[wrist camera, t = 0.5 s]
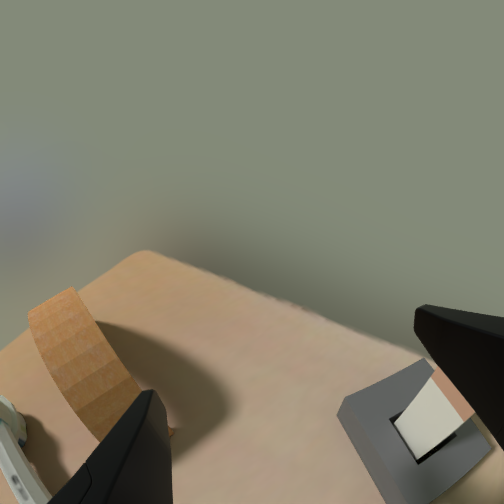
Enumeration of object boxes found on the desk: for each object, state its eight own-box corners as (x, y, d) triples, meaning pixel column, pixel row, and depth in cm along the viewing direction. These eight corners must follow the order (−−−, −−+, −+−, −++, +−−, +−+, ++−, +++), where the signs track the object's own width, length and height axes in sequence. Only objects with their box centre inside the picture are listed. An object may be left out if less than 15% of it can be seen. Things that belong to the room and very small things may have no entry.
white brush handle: (108, 624, 2) (-46, 389, 13) (133, 606, 6) (-11, 417, 18) (154, 601, 6) (-17, 366, 17) (171, 583, 10) (16, 397, 21)
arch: (126, 468, 18) (65, 421, 12) (53, 340, 30) (17, 278, 24) (175, 434, 21) (136, 376, 16) (87, 320, 33) (58, 256, 28)
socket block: (470, 462, 15) (491, 448, 13) (395, 519, 13) (413, 514, 11) (411, 377, 24) (423, 357, 22) (336, 414, 22) (344, 397, 20)
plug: (431, 449, 17) (510, 375, 11) (402, 469, 17) (481, 405, 10) (411, 418, 21) (474, 335, 14) (382, 436, 20) (443, 357, 13)
